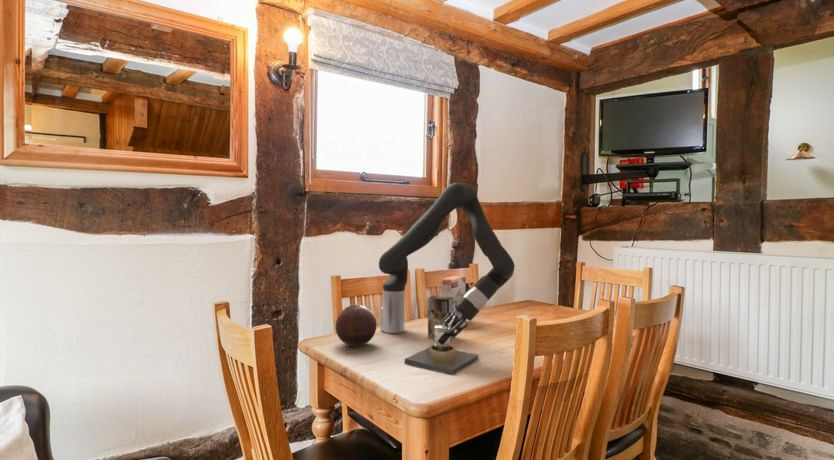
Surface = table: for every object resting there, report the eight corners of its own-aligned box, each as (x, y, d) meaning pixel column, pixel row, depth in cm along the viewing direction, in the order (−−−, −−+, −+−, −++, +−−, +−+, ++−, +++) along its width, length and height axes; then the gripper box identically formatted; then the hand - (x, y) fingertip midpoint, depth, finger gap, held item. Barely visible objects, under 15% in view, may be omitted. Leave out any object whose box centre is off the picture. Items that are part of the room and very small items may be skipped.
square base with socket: (404, 363, 145) (404, 349, 145) (432, 349, 161) (433, 337, 160) (453, 374, 136) (453, 360, 136) (478, 359, 151) (478, 346, 151)
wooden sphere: (383, 348, 162) (383, 307, 162) (344, 354, 154) (344, 311, 154) (366, 338, 175) (366, 300, 174) (329, 343, 167) (329, 303, 167)
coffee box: (454, 336, 178) (454, 297, 178) (449, 340, 173) (449, 299, 172) (432, 334, 182) (433, 295, 181) (426, 338, 176) (427, 297, 175)
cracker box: (451, 327, 193) (452, 279, 192) (439, 325, 196) (439, 278, 195) (465, 321, 205) (466, 276, 204) (453, 319, 208) (454, 275, 207)
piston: (431, 353, 147) (431, 326, 147) (439, 349, 152) (439, 323, 151) (445, 356, 144) (445, 328, 144) (452, 352, 149) (453, 325, 149)
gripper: (456, 292, 156) (423, 327, 154) (472, 299, 142) (436, 339, 140) (470, 306, 158) (438, 342, 155) (487, 315, 144) (451, 354, 141)
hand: (437, 340), depth 147 cm, fingers closed on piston, 5 cm apart
